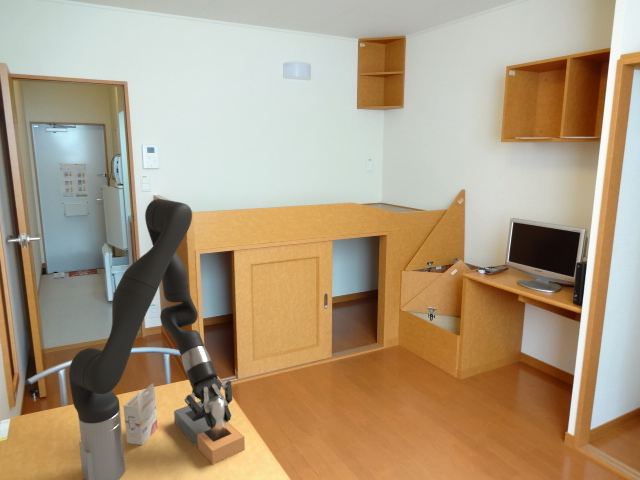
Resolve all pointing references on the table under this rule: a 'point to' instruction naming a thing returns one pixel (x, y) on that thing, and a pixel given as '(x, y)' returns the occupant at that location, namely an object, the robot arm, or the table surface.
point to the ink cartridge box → (140, 416)
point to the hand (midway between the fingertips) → (220, 423)
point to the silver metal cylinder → (217, 417)
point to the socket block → (208, 435)
